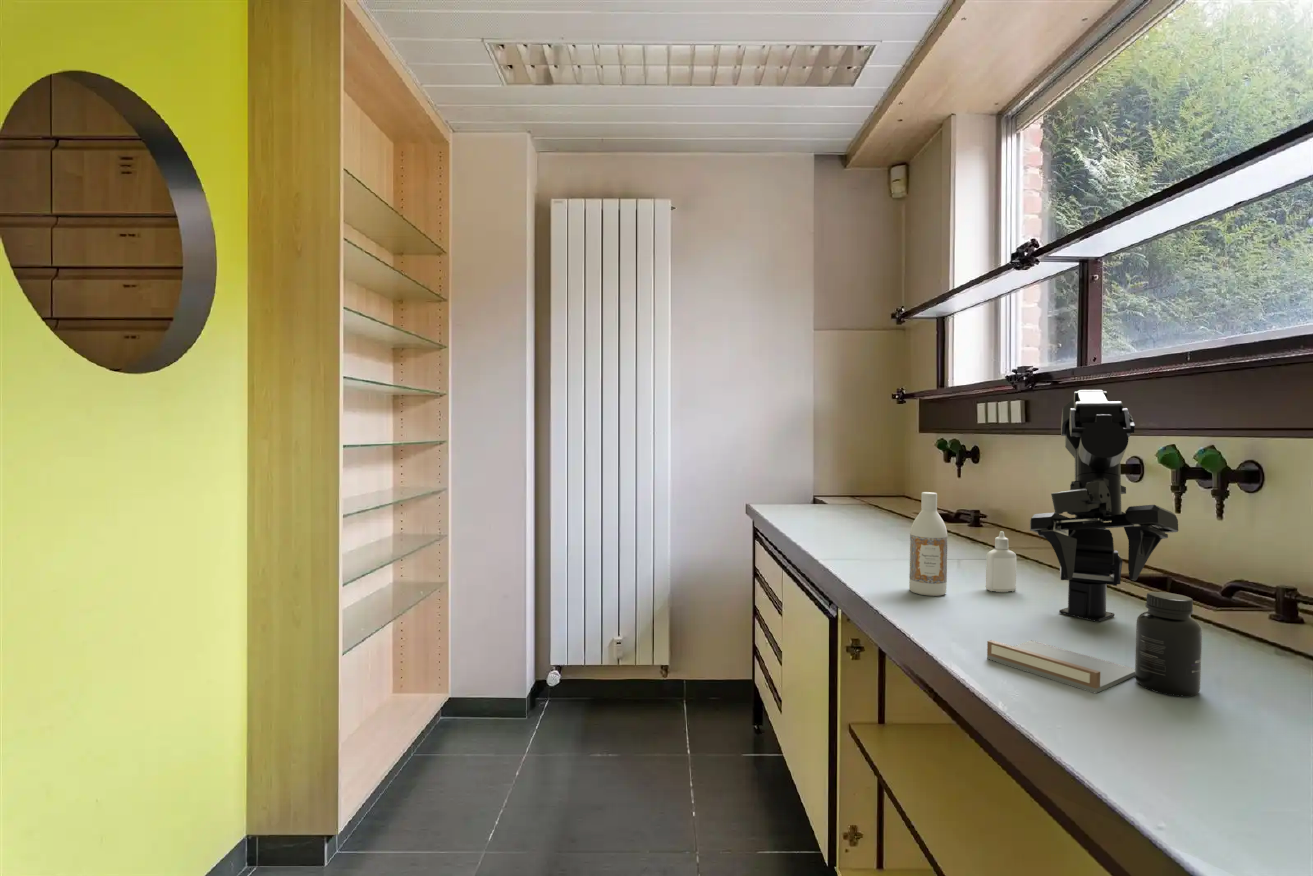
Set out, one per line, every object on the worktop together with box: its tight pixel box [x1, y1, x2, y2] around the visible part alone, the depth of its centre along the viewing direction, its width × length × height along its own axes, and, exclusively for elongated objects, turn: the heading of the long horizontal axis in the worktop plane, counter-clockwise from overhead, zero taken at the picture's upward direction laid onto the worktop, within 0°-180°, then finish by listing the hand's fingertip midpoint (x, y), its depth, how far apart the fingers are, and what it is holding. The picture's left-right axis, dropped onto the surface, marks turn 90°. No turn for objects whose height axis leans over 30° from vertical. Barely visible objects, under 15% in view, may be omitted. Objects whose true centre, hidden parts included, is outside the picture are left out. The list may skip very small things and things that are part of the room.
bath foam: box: [908, 491, 948, 597], centre depth 135 cm, size 7×7×20 cm
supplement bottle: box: [1134, 591, 1203, 697], centre depth 88 cm, size 7×7×12 cm
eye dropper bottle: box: [985, 530, 1017, 593], centre depth 137 cm, size 4×6×12 cm
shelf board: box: [986, 639, 1135, 694], centre depth 95 cm, size 12×14×3 cm
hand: (1099, 579), depth 100 cm, fingers open, 9 cm apart
